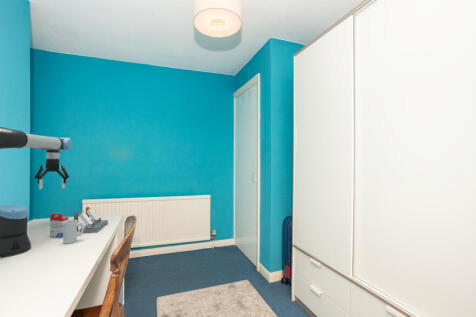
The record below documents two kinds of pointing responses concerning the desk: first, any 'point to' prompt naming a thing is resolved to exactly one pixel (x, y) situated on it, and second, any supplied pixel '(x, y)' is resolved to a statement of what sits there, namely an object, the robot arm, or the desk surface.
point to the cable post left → (76, 218)
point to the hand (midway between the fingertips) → (52, 188)
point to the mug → (71, 231)
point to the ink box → (57, 225)
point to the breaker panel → (94, 226)
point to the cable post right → (86, 212)
